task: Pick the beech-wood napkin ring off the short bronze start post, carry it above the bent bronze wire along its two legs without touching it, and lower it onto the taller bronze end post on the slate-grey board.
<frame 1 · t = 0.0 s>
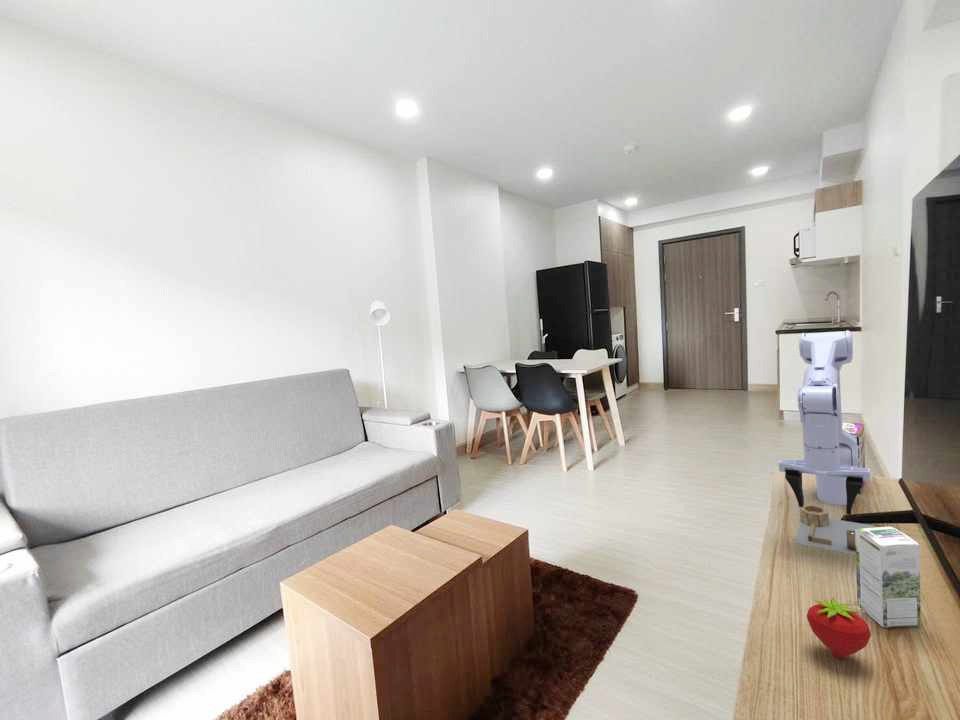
hand: (824, 508, 91), 10 cm above the table, fingers open, 7 cm apart
candy bar box: (852, 487, 119), on the table
end peg: (852, 548, 92), resting on board
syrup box: (888, 617, 74), on the table
board: (835, 537, 97), on the table
strawberry: (839, 658, 67), on the table
ring: (814, 521, 103), point 1 cm above the table, touching board
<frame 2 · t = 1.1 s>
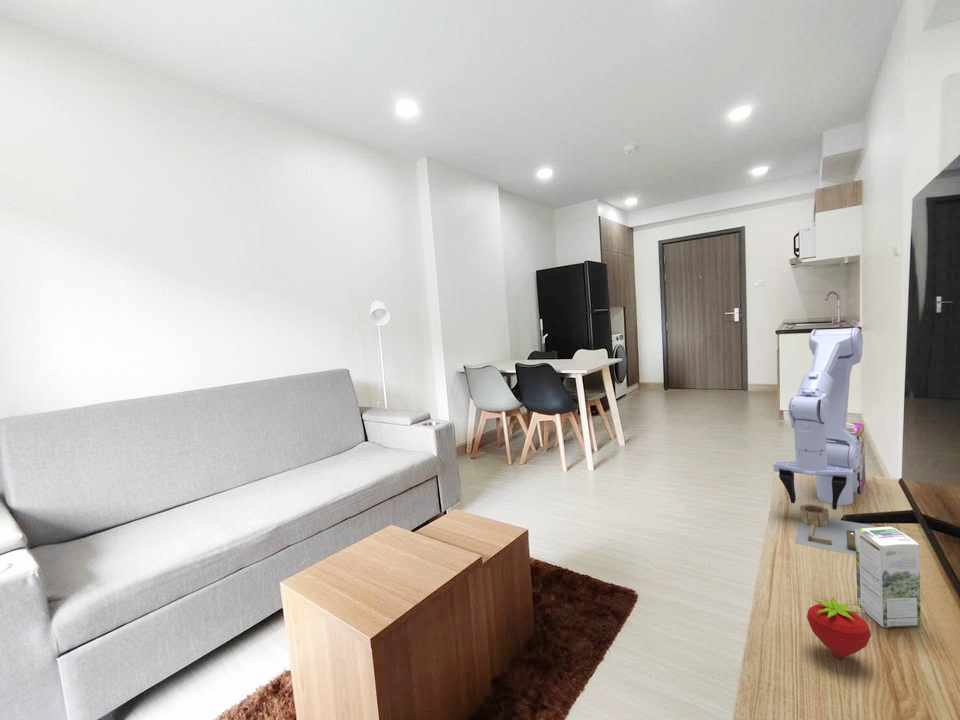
hand: (813, 504, 103), 5 cm above the table, fingers open, 7 cm apart
nothing on the table moved.
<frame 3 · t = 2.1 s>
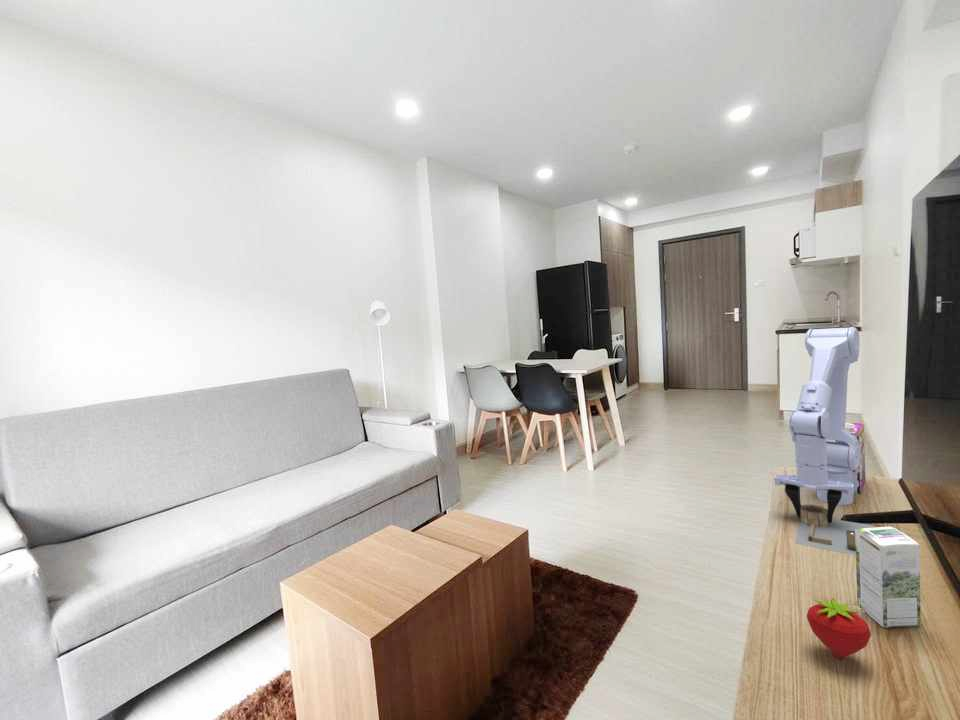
hand: (814, 518, 103), 2 cm above the table, fingers closed on ring, 5 cm apart
ring: (814, 521, 103), point 1 cm above the table, touching board, gripper
everything else where it was.
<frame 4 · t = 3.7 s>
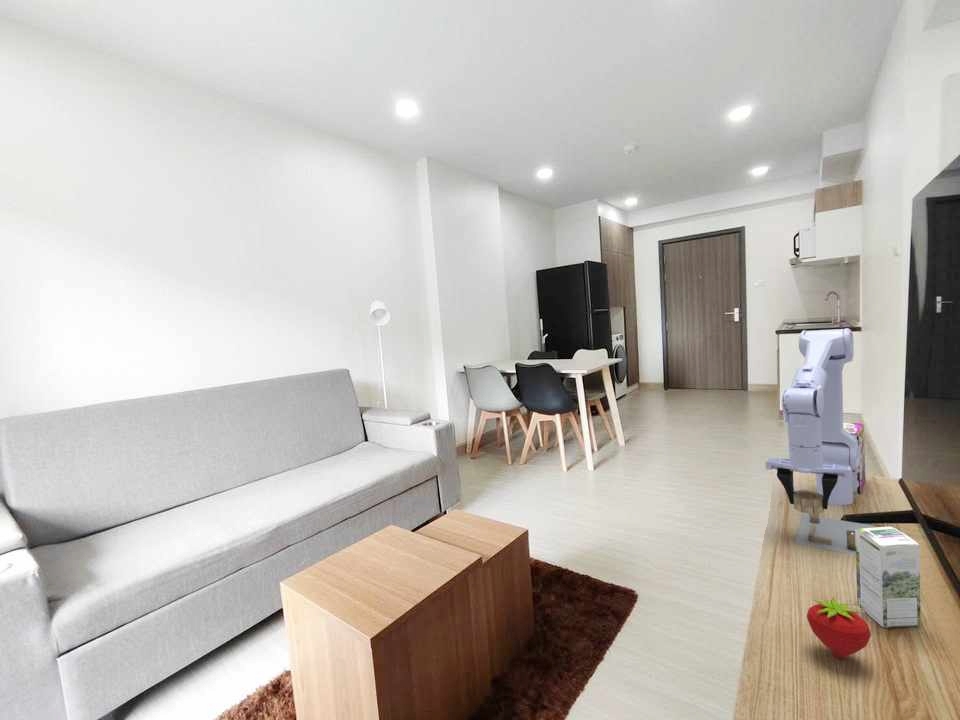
hand: (808, 504, 95), 9 cm above the table, fingers closed on ring, 5 cm apart
ring: (808, 508, 95), point 8 cm above the table, touching gripper
everything else where it was.
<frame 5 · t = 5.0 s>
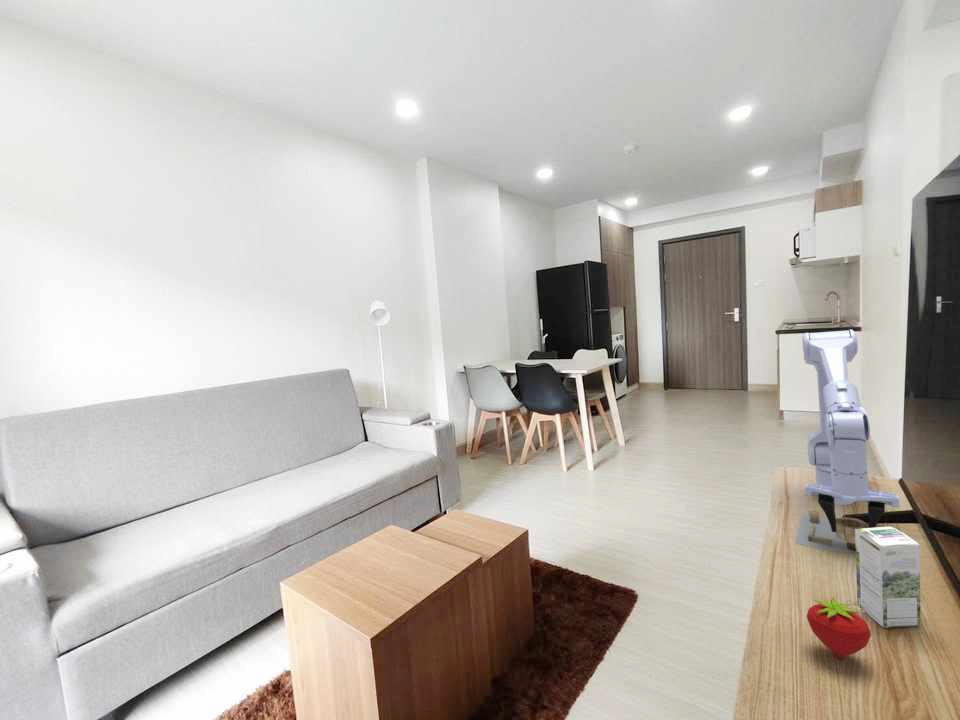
hand: (851, 533, 91), 4 cm above the table, fingers closed on ring, 5 cm apart
ring: (852, 537, 91), point 3 cm above the table, touching gripper
everything else where it was.
when the fingers open (3 cm above the table, at t = 5.8 s): ring drops 1 cm, resting on board.
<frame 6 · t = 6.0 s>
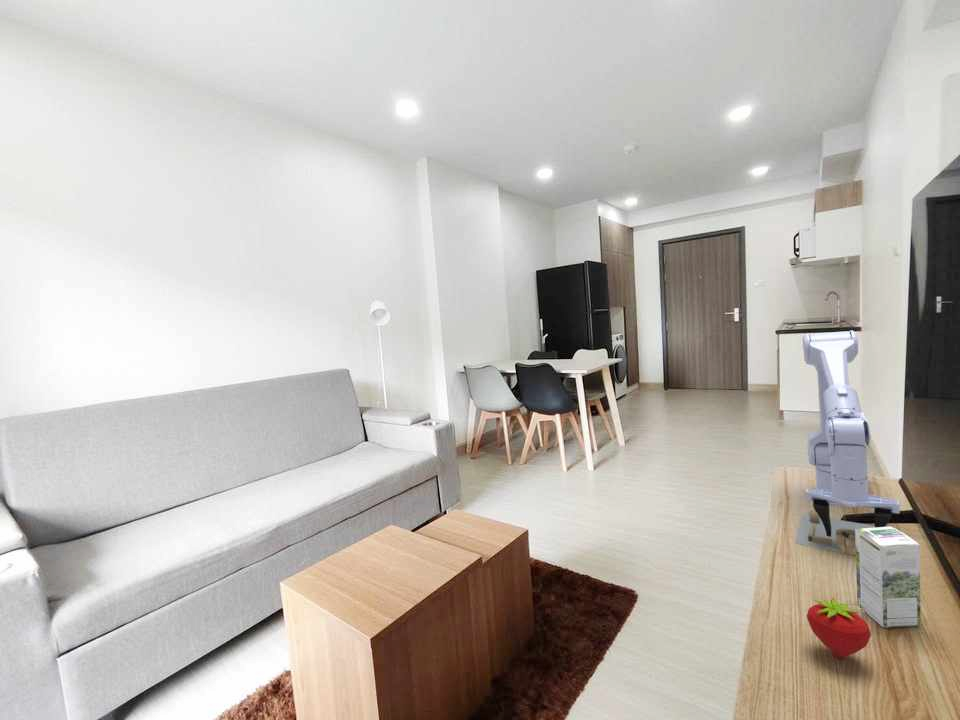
hand: (852, 538, 91), 3 cm above the table, fingers open, 7 cm apart
ring: (852, 548, 91), point 1 cm above the table, touching board
everything else where it was.
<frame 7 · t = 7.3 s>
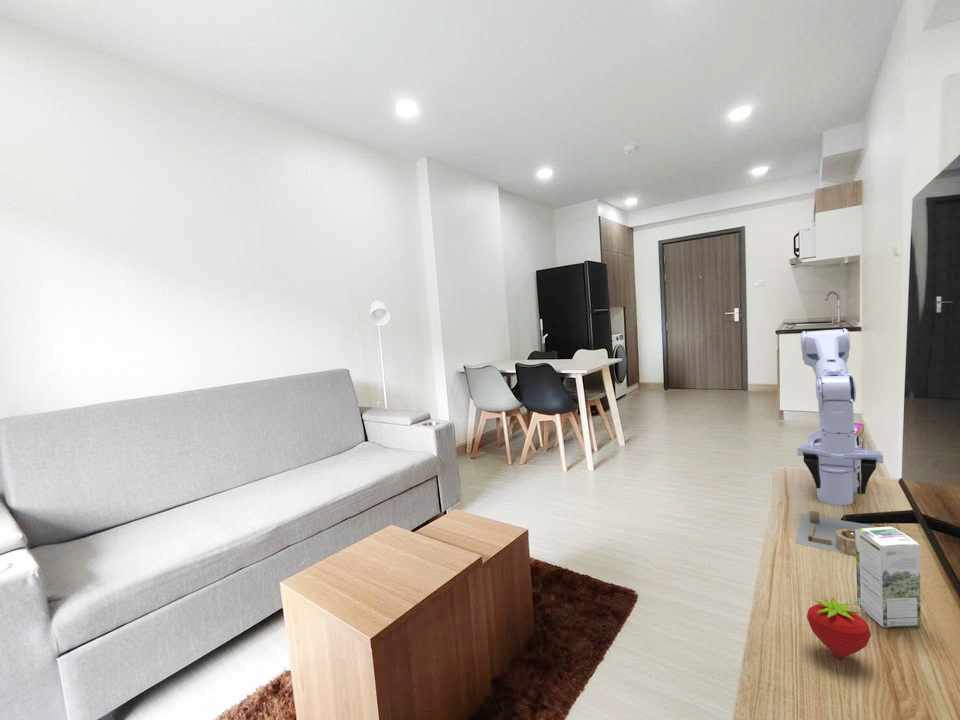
hand: (840, 489, 98), 10 cm above the table, fingers open, 7 cm apart
nothing on the table moved.
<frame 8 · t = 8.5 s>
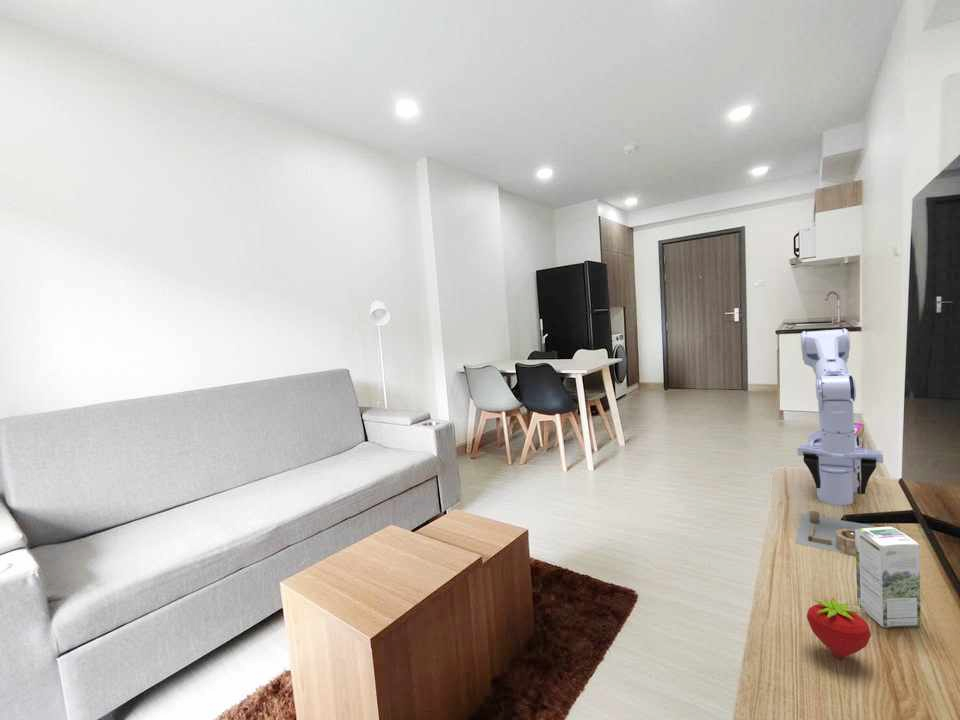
hand: (840, 489, 98), 10 cm above the table, fingers open, 7 cm apart
nothing on the table moved.
at the end: ring 0.0 cm from the end peg (horizontally); ring point 0.8 cm above the table; the gripper is holding nothing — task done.
